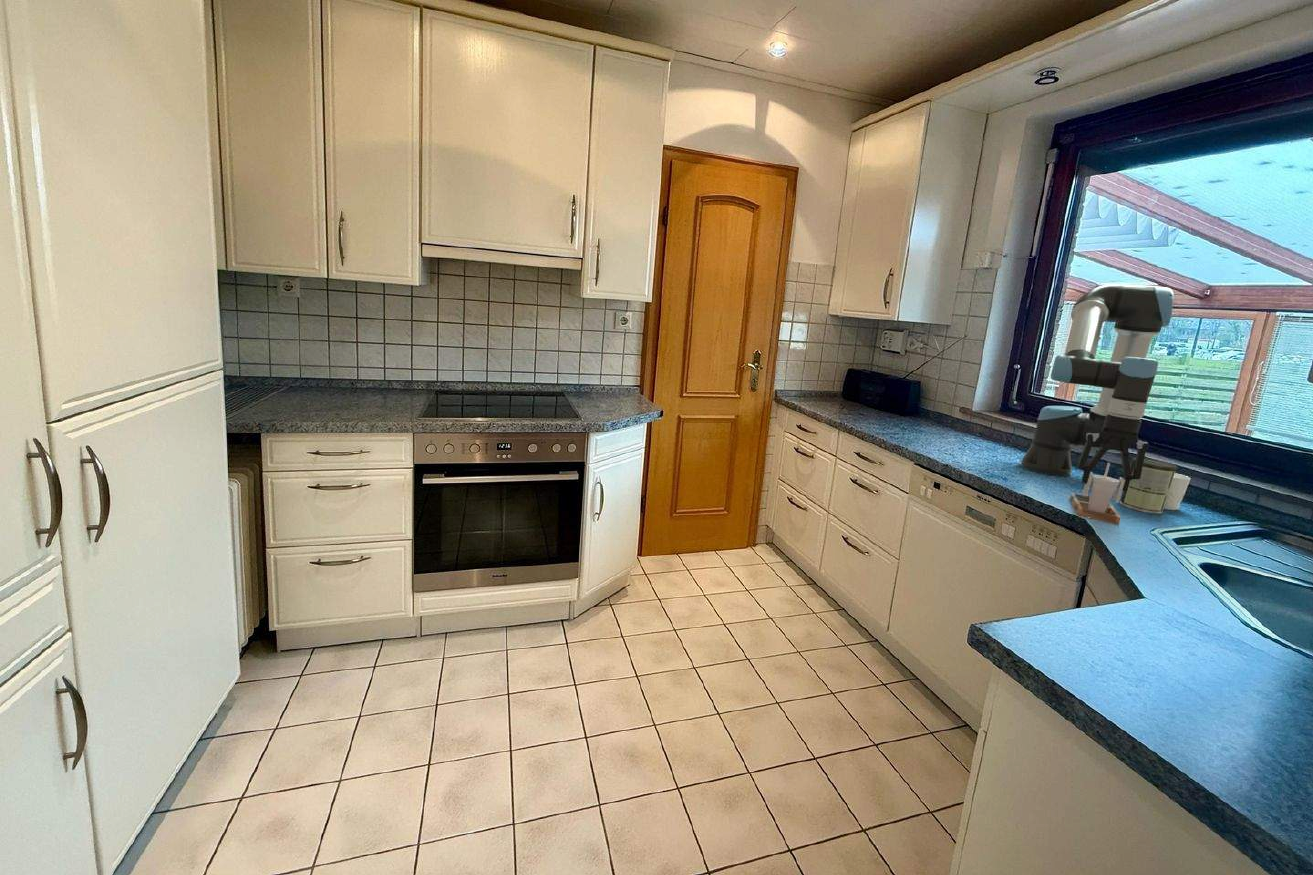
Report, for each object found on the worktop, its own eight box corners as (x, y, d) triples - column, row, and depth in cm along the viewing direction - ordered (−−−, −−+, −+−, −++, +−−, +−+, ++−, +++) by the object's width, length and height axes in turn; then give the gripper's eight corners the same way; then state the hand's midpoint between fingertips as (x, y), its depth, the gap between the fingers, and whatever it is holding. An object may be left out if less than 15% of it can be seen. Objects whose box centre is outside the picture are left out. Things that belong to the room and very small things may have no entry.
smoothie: (1076, 507, 162) (1090, 459, 158) (1091, 506, 164) (1105, 459, 161) (1100, 516, 156) (1115, 466, 153) (1116, 515, 158) (1130, 466, 155)
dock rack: (1069, 498, 174) (1070, 492, 173) (1106, 506, 170) (1108, 500, 169) (1077, 515, 158) (1079, 508, 158) (1118, 524, 154) (1121, 517, 154)
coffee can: (1110, 499, 178) (1124, 455, 174) (1146, 503, 177) (1160, 459, 174) (1134, 511, 168) (1148, 464, 164) (1171, 515, 167) (1187, 469, 164)
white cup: (1186, 510, 174) (1196, 478, 172) (1170, 511, 171) (1180, 479, 169) (1156, 501, 181) (1166, 470, 179) (1140, 502, 178) (1150, 471, 176)
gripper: (1082, 411, 155) (1059, 493, 160) (1174, 424, 146) (1147, 511, 152) (1078, 407, 161) (1056, 486, 167) (1166, 420, 153) (1140, 503, 158)
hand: (1100, 498), depth 159 cm, fingers closed on smoothie, 6 cm apart
